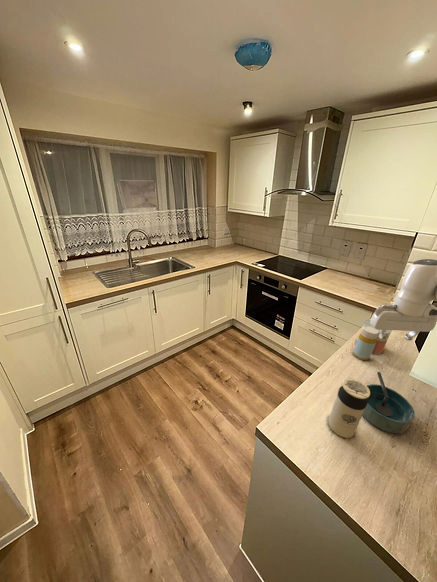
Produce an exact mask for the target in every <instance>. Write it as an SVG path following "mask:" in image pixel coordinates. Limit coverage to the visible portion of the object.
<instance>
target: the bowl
mask: <svg viewBox="0 0 437 582" xmlns="http://www.w3.org/2000/svg"><path fill="white" fill-rule="evenodd" d="M365 385H366V384H365ZM366 386H367V387H368V388H369V390H370V396H369V397H368V403H367V406H366V408H365V410H364V412H363V415H362V417H364V418H365V419H366V420H367V421H368V422H369V423H370V424H372V425H373V426H375V427H376V428H378V429H380V430H381V431H385V432H387V433H391V434H402V433H405V432H406V431H407V430H408V429H409V427H410V425H412V423H413V421H414V419H415V414H416V413H415V410H414V407H413V405H412V404H411V403H410V402H409V400H408V399H406V398H405V397H404V396H403V395H402V394H400V393H399V392H397V391H396V390H394V389H392V388H390V387H387V386H385V387H386V390H387V394H388V397H389V398H388V400H387V402H386V404H385V405H386V406H388V407H389V408H390V409H391V410H392V413H393V414H392V416H391V418H388V417H386V416H384V415H382V414H380V413H379V412H377V411H376V410H374V409H375V406H376V405H377V404H382V401H383V399H384V394H383V390H382V387H381V384H373V383H371V384H367V385H366Z"/></svg>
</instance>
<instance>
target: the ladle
mask: <svg viewBox="0 0 437 582" xmlns="http://www.w3.org/2000/svg"><path fill="white" fill-rule="evenodd" d="M376 373H377V378H378V381H379V385H381V387H382V390H383V394H384V399H383V401H382V404H377V405H376V406H375V409H374V410H376V411H377V412H379V413H380V414H382V415H384V416H386V417H388V418H391V416H392V414H393V413H392V410H391V409H390V408H389V407H388V406H386V405H385V404H386V402H387V400H388V398H389V397H388V394H387V390H386V387H387V386H386V385H385V382H384V379H383V376H382V373H381V372H380V371H377V372H376Z"/></svg>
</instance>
